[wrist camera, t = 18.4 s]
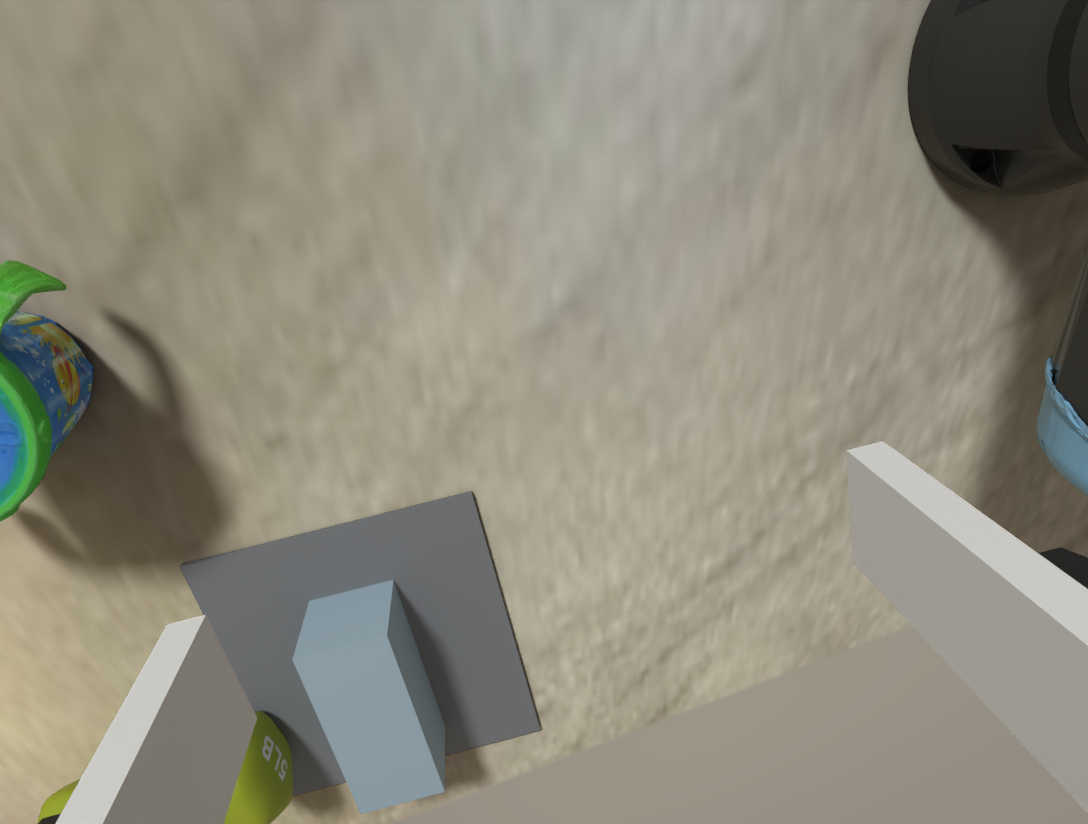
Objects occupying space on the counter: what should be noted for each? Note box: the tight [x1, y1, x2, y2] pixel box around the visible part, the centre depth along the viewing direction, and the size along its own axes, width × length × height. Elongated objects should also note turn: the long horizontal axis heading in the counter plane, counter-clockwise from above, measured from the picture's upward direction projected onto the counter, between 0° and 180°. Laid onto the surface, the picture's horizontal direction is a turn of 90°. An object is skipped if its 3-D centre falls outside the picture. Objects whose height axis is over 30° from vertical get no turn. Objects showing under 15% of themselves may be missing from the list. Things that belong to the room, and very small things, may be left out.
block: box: [292, 580, 445, 814], centre depth 50 cm, size 6×6×14 cm
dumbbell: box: [38, 711, 293, 824], centre depth 51 cm, size 16×8×7 cm, turn 111°
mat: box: [180, 491, 540, 796], centre depth 53 cm, size 20×22×1 cm
